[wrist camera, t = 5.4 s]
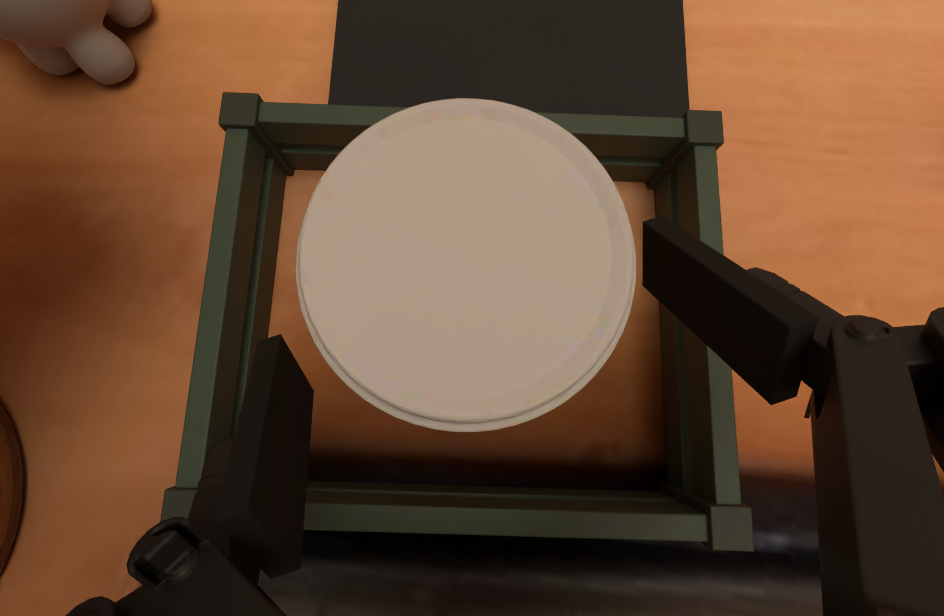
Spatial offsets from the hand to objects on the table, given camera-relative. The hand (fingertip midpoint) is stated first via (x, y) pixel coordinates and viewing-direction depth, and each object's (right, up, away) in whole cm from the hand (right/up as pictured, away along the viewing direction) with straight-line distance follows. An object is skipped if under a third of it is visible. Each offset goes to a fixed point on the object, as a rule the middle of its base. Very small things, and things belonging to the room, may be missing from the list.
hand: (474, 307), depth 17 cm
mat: (+2, +15, +10) cm, 18 cm away
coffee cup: (0, -1, +8) cm, 8 cm away
